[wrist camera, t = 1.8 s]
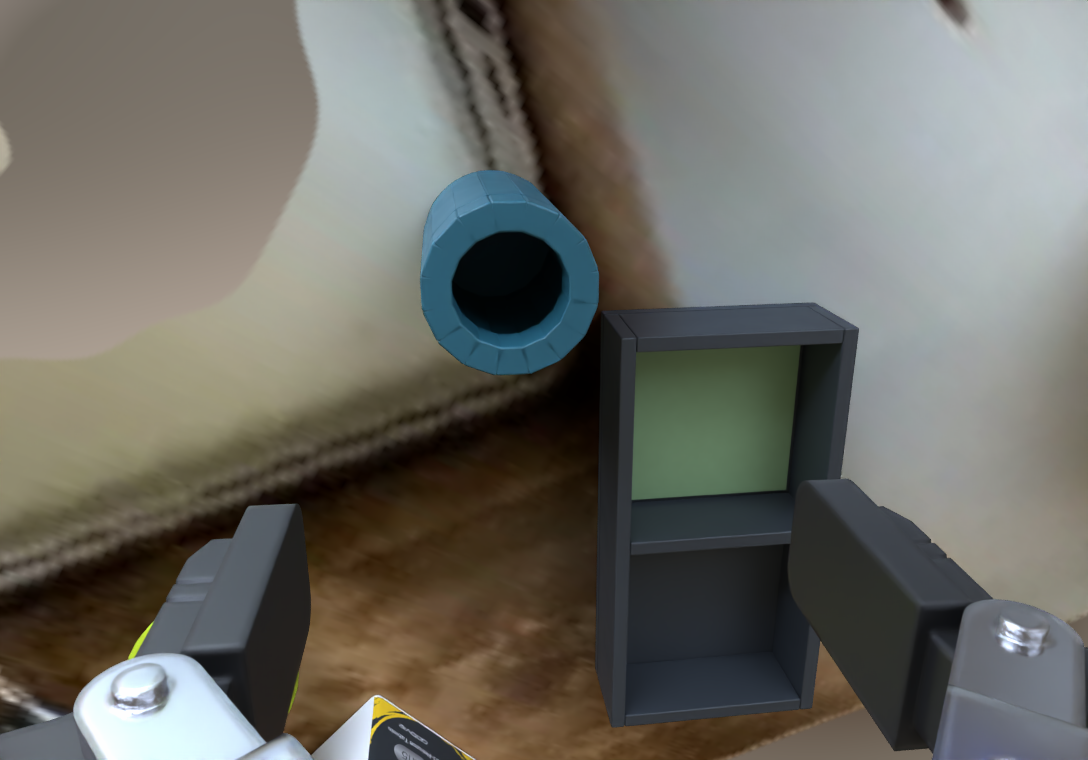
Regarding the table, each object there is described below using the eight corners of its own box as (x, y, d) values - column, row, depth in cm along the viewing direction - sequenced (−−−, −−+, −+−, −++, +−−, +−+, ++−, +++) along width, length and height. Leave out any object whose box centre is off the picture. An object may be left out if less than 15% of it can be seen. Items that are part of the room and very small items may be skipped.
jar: (428, 304, 33) (425, 380, 25) (420, 171, 31) (415, 202, 23) (557, 300, 34) (597, 371, 25) (556, 168, 32) (600, 198, 24)
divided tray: (594, 668, 40) (611, 728, 36) (600, 310, 34) (621, 338, 30) (778, 652, 41) (812, 709, 37) (814, 302, 35) (859, 327, 31)
